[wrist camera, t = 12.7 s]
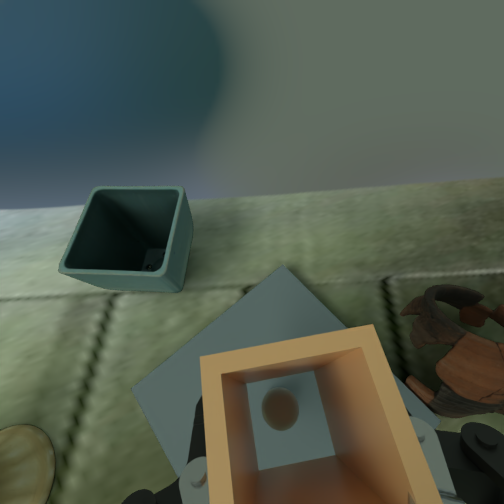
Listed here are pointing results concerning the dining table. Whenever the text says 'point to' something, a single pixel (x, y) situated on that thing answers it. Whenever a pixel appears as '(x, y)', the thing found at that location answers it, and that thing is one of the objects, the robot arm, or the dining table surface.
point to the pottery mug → (458, 353)
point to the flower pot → (132, 239)
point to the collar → (338, 419)
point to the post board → (259, 393)
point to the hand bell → (25, 465)
